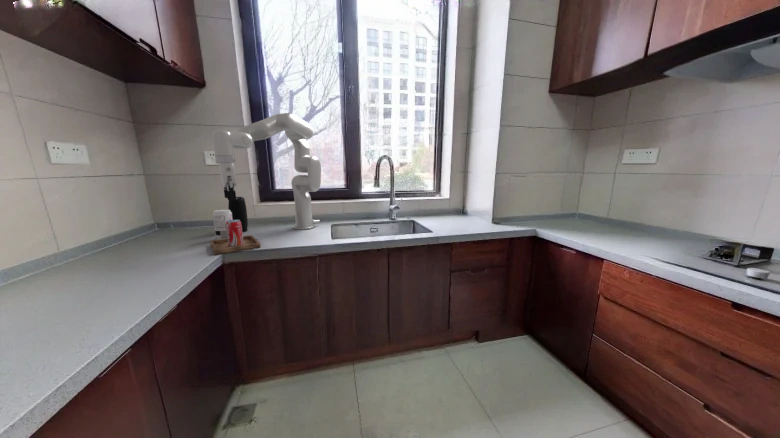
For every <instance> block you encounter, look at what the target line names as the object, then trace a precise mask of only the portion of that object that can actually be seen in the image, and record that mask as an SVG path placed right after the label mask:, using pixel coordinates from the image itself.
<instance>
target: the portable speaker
mask: <svg viewBox="0 0 780 438" xmlns="http://www.w3.org/2000/svg"><path fill="white" fill-rule="evenodd" d="M227 210H230V211H231V213H232V219H233V220H240V222H241V224H242V232H243V231H245V232H247V231H248V227H249V225H248V224H249V222H248V219H249V218H248V212H247V211H248V210H247V205H246V200H245V197H243V196H236V200H228V208H227Z"/></svg>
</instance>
